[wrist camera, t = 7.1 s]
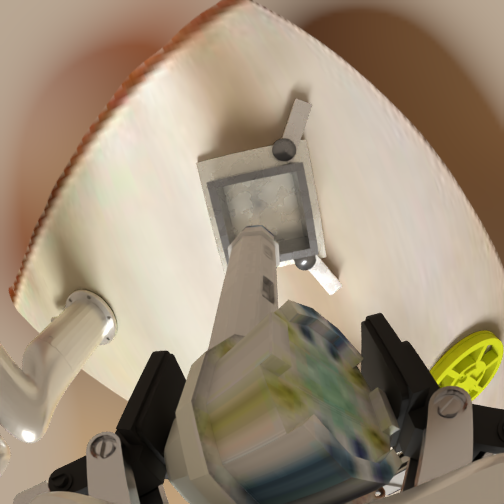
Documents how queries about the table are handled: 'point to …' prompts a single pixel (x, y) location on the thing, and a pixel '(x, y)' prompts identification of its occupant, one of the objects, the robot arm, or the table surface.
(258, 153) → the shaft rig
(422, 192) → the table surface
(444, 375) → the pulley
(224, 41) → the table surface
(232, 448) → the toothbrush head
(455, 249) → the table surface
